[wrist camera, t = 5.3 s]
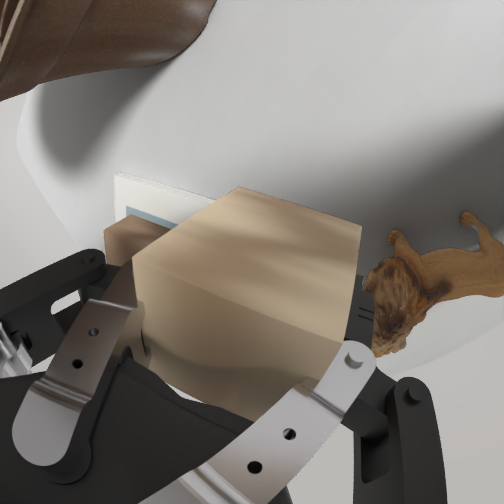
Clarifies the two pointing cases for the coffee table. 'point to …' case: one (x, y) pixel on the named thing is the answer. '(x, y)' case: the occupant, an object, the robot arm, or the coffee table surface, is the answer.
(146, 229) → the walnut plinth
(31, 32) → the plant pot
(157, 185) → the board
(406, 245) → the lion figurine
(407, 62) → the coffee table surface
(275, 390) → the oak block
